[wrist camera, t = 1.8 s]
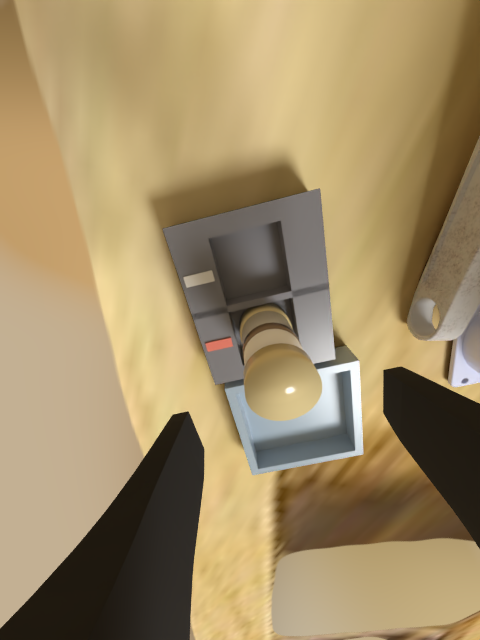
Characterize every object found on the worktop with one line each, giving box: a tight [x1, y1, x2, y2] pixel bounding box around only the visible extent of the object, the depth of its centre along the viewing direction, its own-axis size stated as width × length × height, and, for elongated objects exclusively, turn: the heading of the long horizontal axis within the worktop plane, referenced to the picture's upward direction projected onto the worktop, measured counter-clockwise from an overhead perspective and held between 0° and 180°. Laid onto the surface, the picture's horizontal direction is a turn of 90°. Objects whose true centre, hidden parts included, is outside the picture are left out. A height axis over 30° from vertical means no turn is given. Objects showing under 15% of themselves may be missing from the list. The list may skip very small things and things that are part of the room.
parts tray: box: [225, 345, 363, 475], centre depth 19 cm, size 9×9×2 cm
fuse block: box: [163, 188, 336, 385], centre depth 15 cm, size 8×10×2 cm
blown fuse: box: [239, 303, 322, 421], centre depth 13 cm, size 3×3×6 cm
